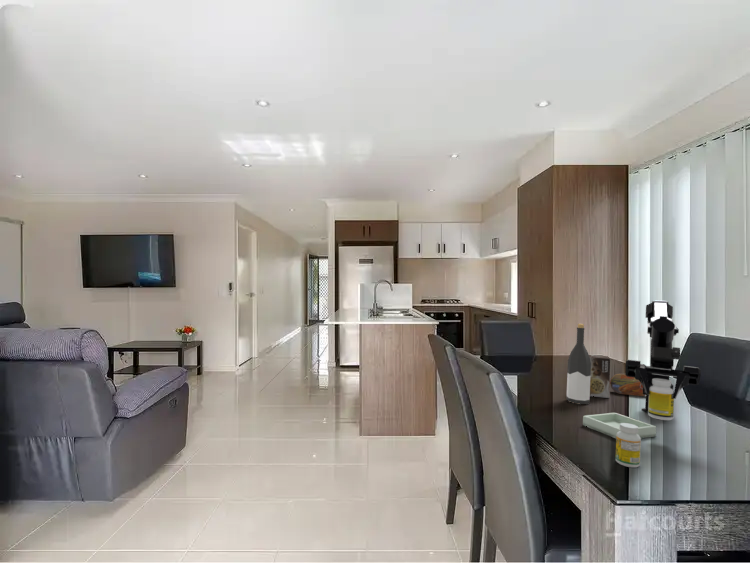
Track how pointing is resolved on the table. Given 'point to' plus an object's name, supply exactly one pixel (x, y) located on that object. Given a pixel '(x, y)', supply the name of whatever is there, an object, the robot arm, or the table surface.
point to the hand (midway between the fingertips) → (661, 395)
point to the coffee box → (600, 376)
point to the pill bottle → (661, 399)
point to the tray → (617, 424)
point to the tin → (626, 385)
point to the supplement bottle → (628, 445)
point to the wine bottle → (579, 371)
